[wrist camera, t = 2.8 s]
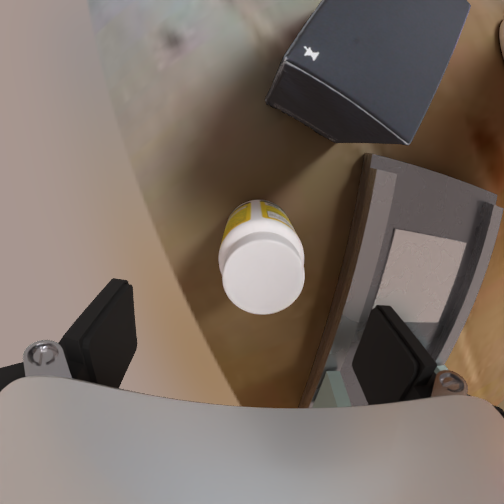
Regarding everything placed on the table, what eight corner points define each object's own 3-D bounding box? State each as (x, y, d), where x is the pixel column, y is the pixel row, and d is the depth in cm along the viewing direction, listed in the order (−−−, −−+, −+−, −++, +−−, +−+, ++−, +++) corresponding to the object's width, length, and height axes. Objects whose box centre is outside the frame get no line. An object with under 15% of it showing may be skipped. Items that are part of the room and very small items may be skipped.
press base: (364, 152, 20) (379, 154, 17) (487, 191, 20) (505, 197, 18) (298, 406, 29) (301, 425, 26) (404, 401, 29) (411, 416, 27)
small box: (340, 149, 20) (413, 156, 10) (261, 102, 19) (271, 61, 9) (397, 47, 16) (478, 6, 7) (327, 1, 15) (373, -72, 6)
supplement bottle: (229, 262, 23) (218, 324, 15) (222, 201, 21) (205, 235, 13) (291, 257, 23) (312, 317, 15) (289, 196, 21) (312, 228, 13)
